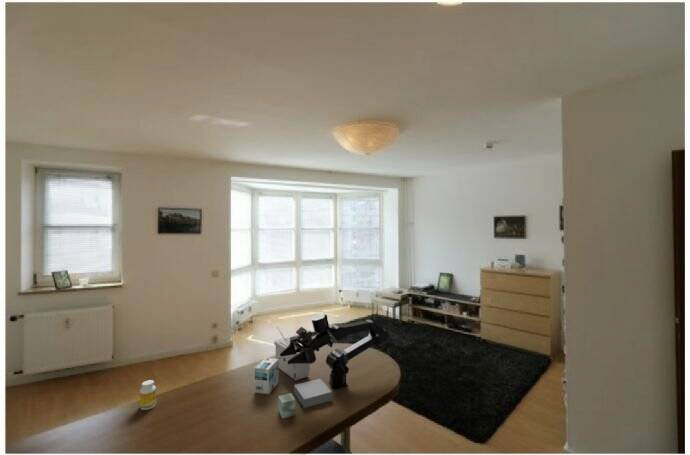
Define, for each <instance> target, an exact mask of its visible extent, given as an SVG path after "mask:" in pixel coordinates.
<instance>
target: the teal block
mask: <svg viewBox="0 0 690 455" xmlns="http://www.w3.org/2000/svg"><path fill="white" fill-rule="evenodd" d="M277 398H278V413H279V415H280V417H281V419H282V418H283V419H285V418H286V419H287V418H290V417H293V416H296V398H295V397H294V394H293V393H291V392H289V393H286V394H281V395H279V396H278V397H277ZM292 415H293V416H292ZM289 416H290V417H289Z"/></svg>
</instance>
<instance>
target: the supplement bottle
mask: <svg viewBox="0 0 690 455" xmlns="http://www.w3.org/2000/svg"><path fill="white" fill-rule="evenodd" d="M139 400H140V401H139V403H140V404H139V406H140V407H139V408H140V409H141V410H142V411H147V410H148V411H149V410H150V409H153V408H154V407H155V406H156V405H157V387H156V385H155V381H154V380H153V379H149V380H144V381H143V382H142V383H141V388H140V390H139Z"/></svg>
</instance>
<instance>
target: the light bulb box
mask: <svg viewBox="0 0 690 455" xmlns="http://www.w3.org/2000/svg"><path fill="white" fill-rule="evenodd" d="M278 363H279V360H278V359H276V358H270V357H264V358H263V359H262V361H260V363H258V364H257V365H256V366H255V367H254V393H255V394H256V393H257V394H264V395H270V394H271V392H272V391H273V390H274V389H275V387H276V386H277V385H278V384H279V368H278V367H279V364H278Z"/></svg>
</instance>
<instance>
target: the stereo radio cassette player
mask: <svg viewBox="0 0 690 455" xmlns="http://www.w3.org/2000/svg"><path fill="white" fill-rule="evenodd" d="M276 329H278V331H279V333H280V335H281V336H282V338H280V339H277V340H274V342H273V344H274V346H275V359H278V360H279V363H278V364H279V367H278V370H279V369H280V371H283V373H285V374H287V375H288V377H290V378H291V379H292V380H294V381H298V380H301V379H305V378H307V377H308V376H310V369H311V368H310V367H311V364H310V363H309V364H307V363H298V364H288V360H290V359H291V358H293V357H294V356H296V355H297V354H299V353H300V352H299V353H297V354H294V355H288V356H282V357H281V356H280V353H282V352H283V351H284V350H285V349H286V348H287V347H288V346H289V344H290V340H291V338H288V337H285V336H284V335H283V333H282V331H281V330H280V329H279V327H276Z"/></svg>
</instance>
